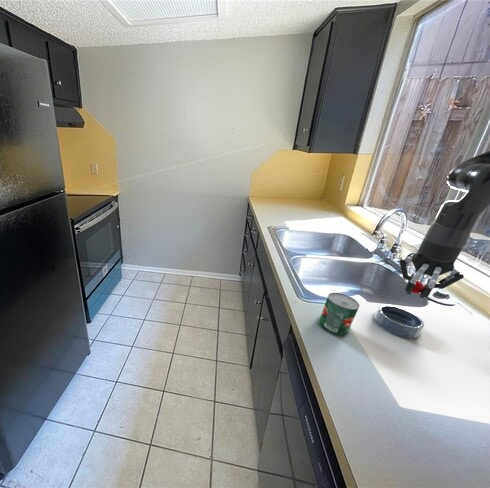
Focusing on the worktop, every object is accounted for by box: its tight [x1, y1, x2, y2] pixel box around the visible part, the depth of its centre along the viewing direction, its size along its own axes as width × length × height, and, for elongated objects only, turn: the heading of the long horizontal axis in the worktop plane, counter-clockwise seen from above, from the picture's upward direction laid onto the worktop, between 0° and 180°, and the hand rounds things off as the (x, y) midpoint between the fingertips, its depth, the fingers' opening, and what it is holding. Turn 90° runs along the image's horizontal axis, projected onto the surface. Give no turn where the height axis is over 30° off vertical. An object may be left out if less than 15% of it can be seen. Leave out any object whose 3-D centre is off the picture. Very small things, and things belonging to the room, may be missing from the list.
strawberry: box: [411, 279, 424, 294], centre depth 76 cm, size 4×4×4 cm
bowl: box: [373, 304, 425, 339], centre depth 80 cm, size 11×11×5 cm
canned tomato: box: [318, 292, 360, 337], centre depth 77 cm, size 8×8×11 cm
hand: (414, 294), depth 75 cm, fingers closed on strawberry, 2 cm apart
